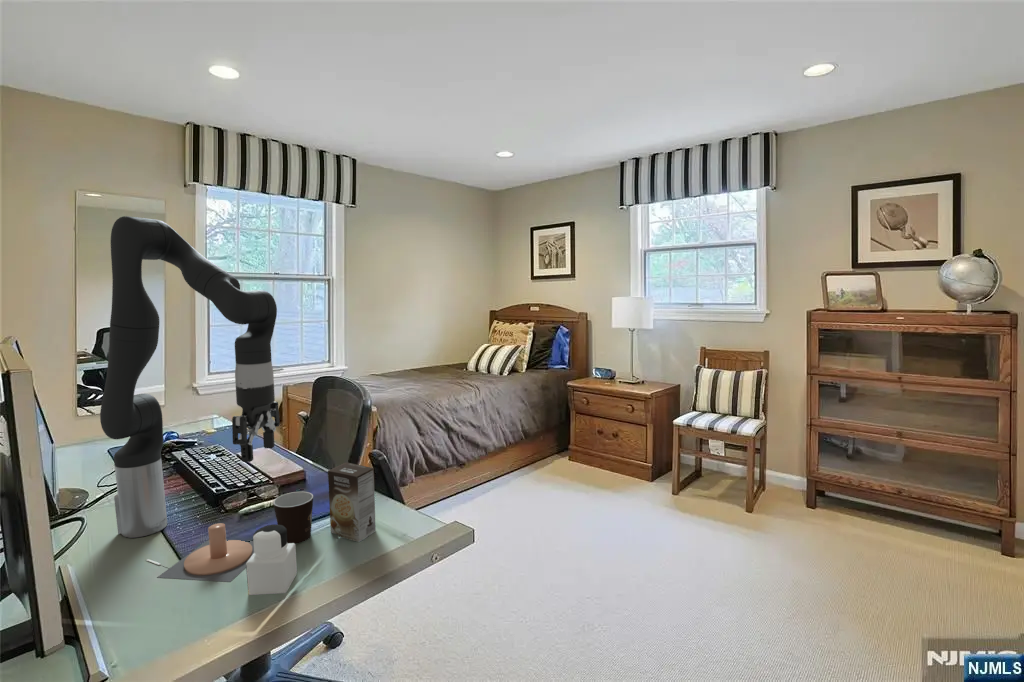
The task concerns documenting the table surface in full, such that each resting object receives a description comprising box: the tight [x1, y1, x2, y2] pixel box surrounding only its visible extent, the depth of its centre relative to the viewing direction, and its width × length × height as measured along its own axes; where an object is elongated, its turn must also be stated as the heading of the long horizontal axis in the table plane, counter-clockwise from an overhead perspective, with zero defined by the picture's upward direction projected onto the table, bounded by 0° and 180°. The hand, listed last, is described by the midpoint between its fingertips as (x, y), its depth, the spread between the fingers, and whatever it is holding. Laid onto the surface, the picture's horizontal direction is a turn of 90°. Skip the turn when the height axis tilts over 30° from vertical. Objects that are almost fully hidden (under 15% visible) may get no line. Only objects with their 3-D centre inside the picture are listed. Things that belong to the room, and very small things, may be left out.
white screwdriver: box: [145, 558, 170, 570], centre depth 111 cm, size 1×19×1 cm, turn 64°
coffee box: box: [327, 461, 377, 543], centre depth 126 cm, size 9×6×16 cm
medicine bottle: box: [245, 524, 298, 596], centre depth 105 cm, size 7×7×12 cm
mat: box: [156, 538, 254, 583], centre depth 115 cm, size 16×16×1 cm
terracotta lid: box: [184, 522, 252, 575], centre depth 115 cm, size 13×13×7 cm
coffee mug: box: [272, 491, 314, 545], centre depth 125 cm, size 12×9×10 cm
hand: (258, 454), depth 117 cm, fingers open, 8 cm apart
